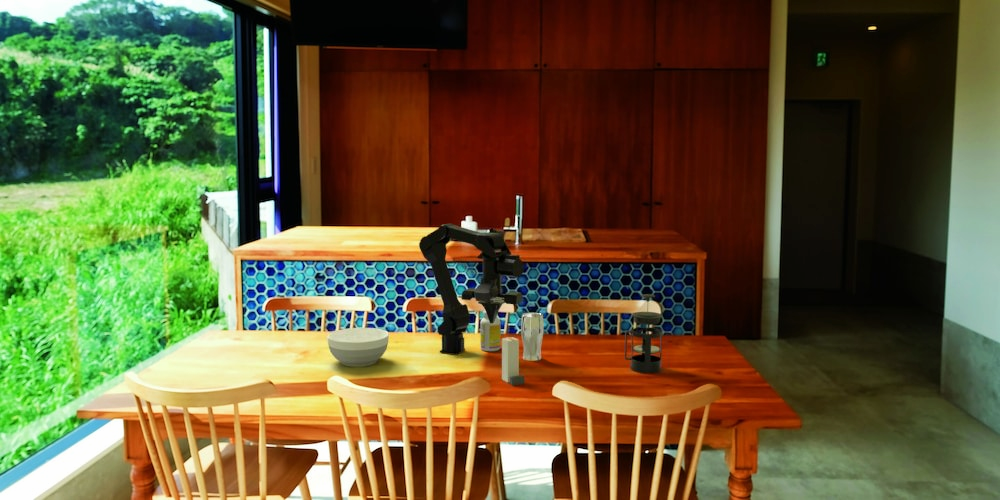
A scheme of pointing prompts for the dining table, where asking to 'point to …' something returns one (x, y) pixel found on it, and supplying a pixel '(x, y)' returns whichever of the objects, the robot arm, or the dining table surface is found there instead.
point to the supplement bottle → (490, 334)
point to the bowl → (358, 345)
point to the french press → (645, 342)
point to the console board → (517, 380)
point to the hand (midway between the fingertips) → (491, 323)
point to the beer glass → (532, 335)
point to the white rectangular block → (510, 358)
